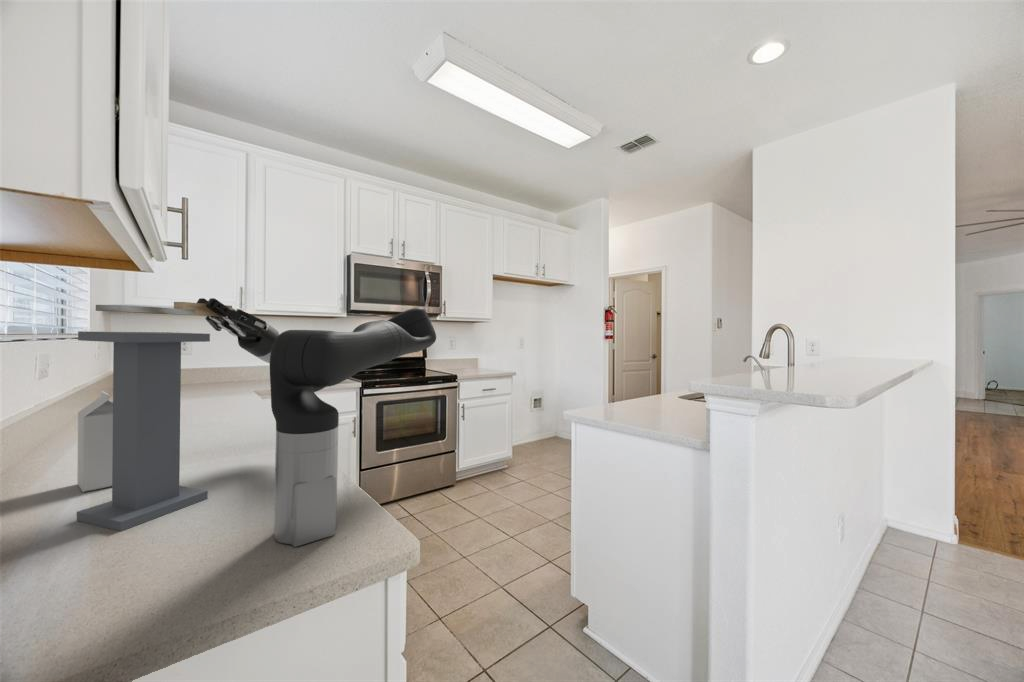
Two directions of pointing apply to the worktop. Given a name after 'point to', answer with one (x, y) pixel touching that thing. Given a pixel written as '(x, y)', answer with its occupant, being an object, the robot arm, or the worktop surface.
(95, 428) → the milk carton
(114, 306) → the trowel
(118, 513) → the stand
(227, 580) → the worktop surface
